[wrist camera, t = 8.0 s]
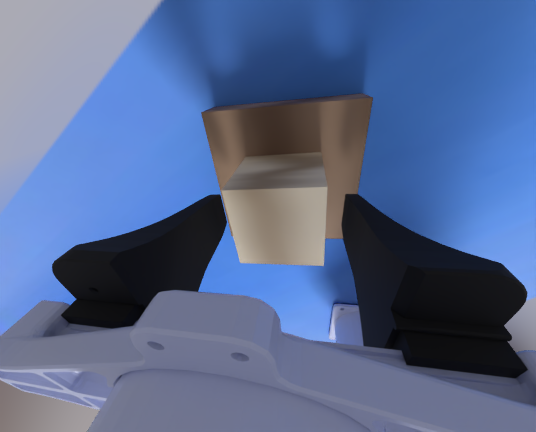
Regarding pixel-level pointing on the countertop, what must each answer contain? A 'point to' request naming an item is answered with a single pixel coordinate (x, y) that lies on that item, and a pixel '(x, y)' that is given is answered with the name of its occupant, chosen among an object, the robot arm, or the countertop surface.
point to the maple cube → (278, 209)
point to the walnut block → (295, 140)
